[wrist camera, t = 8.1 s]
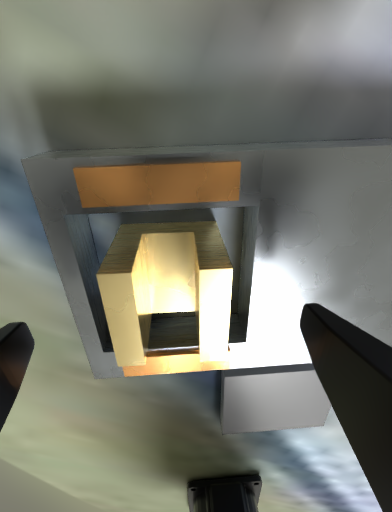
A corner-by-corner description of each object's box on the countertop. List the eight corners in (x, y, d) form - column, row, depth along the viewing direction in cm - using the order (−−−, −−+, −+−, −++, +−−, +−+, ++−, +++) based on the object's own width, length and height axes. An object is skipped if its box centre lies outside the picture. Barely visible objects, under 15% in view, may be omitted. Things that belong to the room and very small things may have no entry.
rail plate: (403, 325, 15) (437, 356, 13) (105, 346, 14) (93, 382, 12) (496, 134, 10) (572, 139, 8) (50, 151, 9) (16, 160, 7)
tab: (316, 411, 19) (323, 426, 18) (220, 419, 18) (222, 434, 17) (336, 353, 16) (345, 368, 15) (221, 362, 15) (224, 377, 15)
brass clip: (213, 294, 13) (226, 359, 10) (133, 298, 13) (117, 366, 9) (215, 220, 11) (232, 268, 8) (121, 223, 11) (96, 274, 7)
